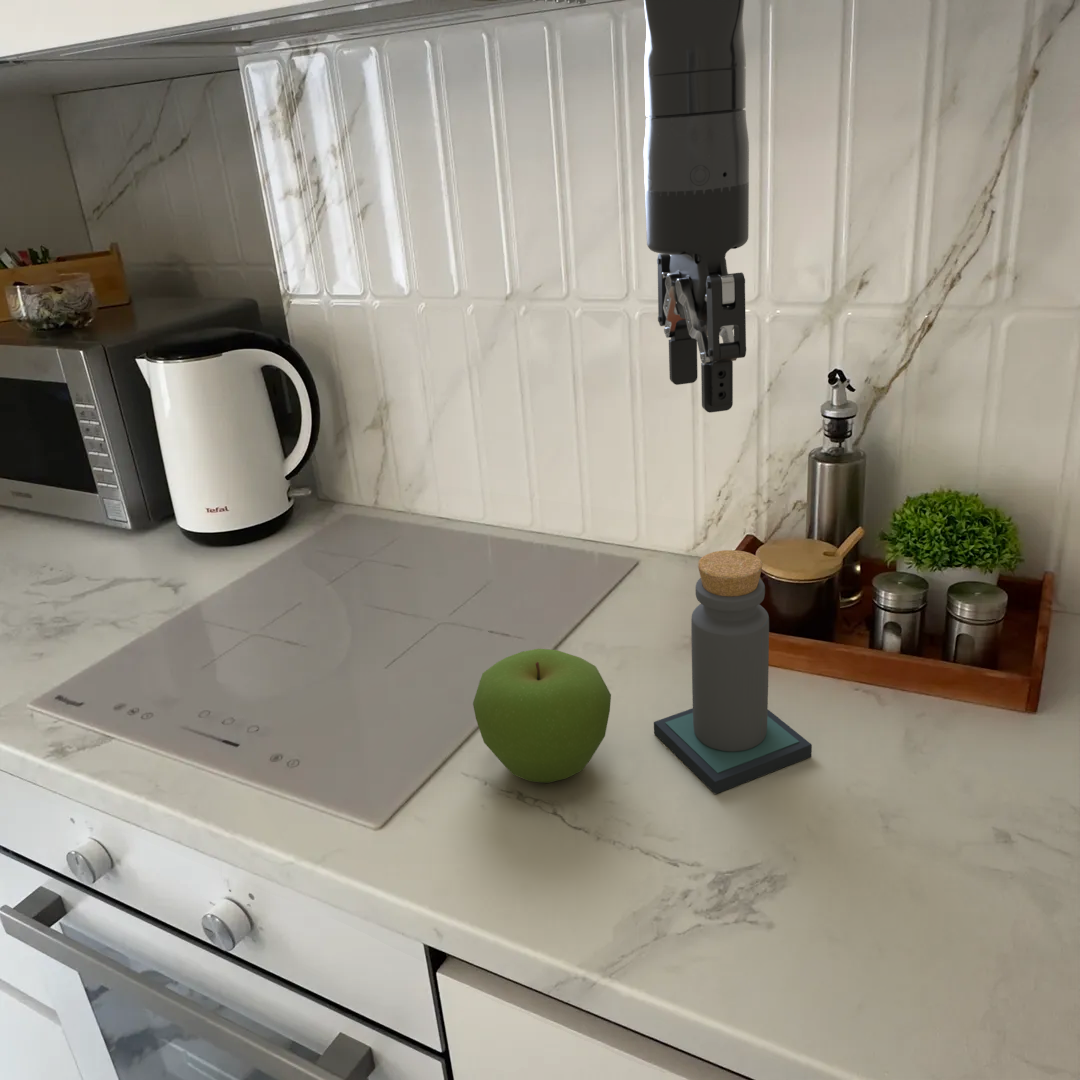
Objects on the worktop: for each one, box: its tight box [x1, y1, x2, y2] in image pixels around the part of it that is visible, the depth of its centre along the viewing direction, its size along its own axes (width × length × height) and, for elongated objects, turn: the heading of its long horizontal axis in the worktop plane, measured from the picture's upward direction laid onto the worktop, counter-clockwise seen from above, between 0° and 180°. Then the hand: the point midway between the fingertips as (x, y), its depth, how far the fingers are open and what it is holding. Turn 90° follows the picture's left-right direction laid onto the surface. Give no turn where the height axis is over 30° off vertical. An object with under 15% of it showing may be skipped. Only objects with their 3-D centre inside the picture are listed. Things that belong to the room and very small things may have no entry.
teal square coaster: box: [653, 707, 813, 795], centre depth 79 cm, size 9×9×1 cm
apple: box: [472, 648, 612, 784], centre depth 76 cm, size 11×10×10 cm
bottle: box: [690, 549, 770, 752], centre depth 75 cm, size 6×6×15 cm
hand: (699, 395), depth 78 cm, fingers open, 8 cm apart
